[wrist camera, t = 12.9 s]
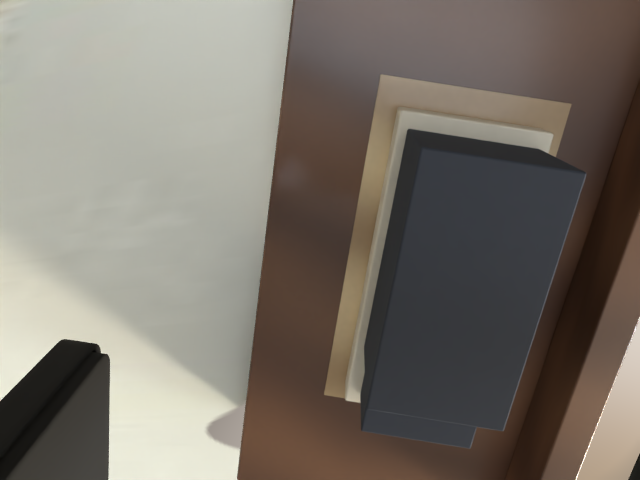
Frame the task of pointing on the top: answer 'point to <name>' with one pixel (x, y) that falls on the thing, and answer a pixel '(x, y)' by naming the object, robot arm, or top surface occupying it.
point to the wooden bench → (362, 207)
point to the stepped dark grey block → (457, 274)
